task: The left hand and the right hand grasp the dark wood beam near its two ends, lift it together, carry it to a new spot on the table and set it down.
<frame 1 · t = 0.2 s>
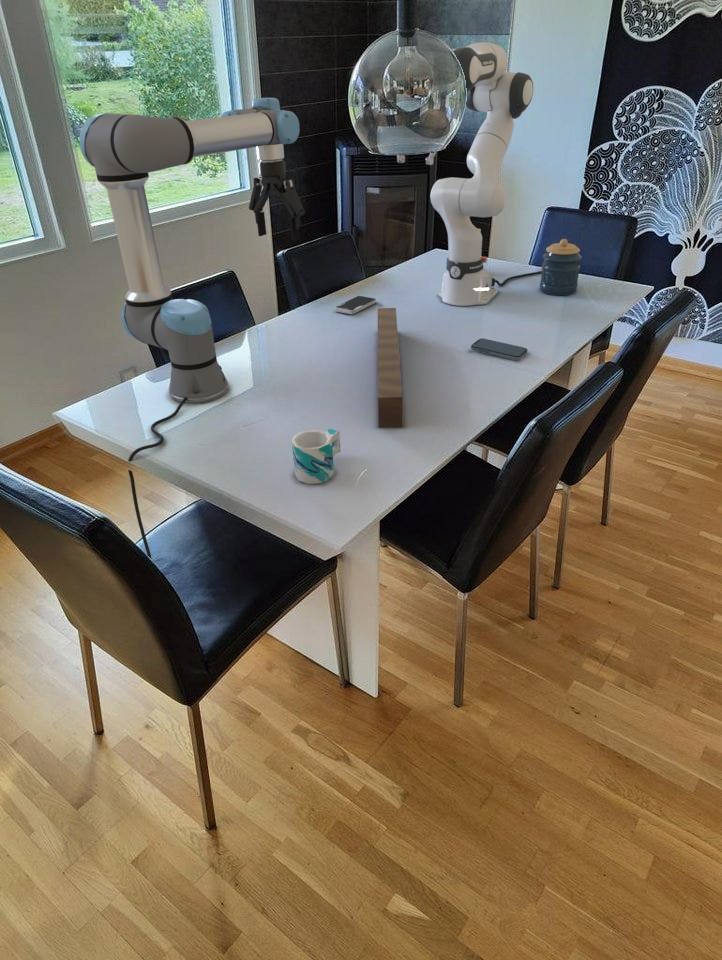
left hand: (278, 237, 202), 28 cm above the table, tool pointing down, fingers open, 13 cm apart
right hand: (415, 163, 188), 47 cm above the table, tool pointing down, fingers open, 8 cm apart
smartphone 2: (498, 352, 193), on the table
soap dispenser: (465, 272, 261), on the table
canister: (557, 290, 239), on the table
smartphone: (355, 307, 231), on the table
mug: (320, 469, 143), on the table
beam: (388, 372, 184), on the table
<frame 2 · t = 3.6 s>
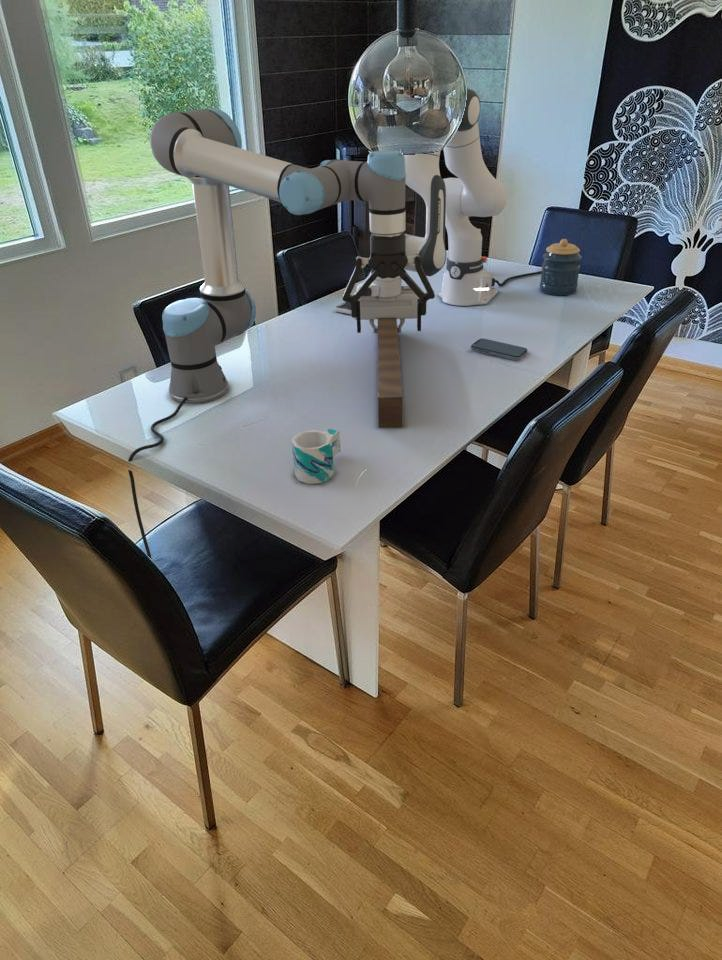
left hand: (389, 330, 152), 21 cm above the table, tool pointing down, fingers open, 13 cm apart
right hand: (387, 332, 202), 3 cm above the table, tool pointing down, fingers closed on beam, 5 cm apart
beam: (388, 372, 184), on the table, touching right hand
everything else where it was.
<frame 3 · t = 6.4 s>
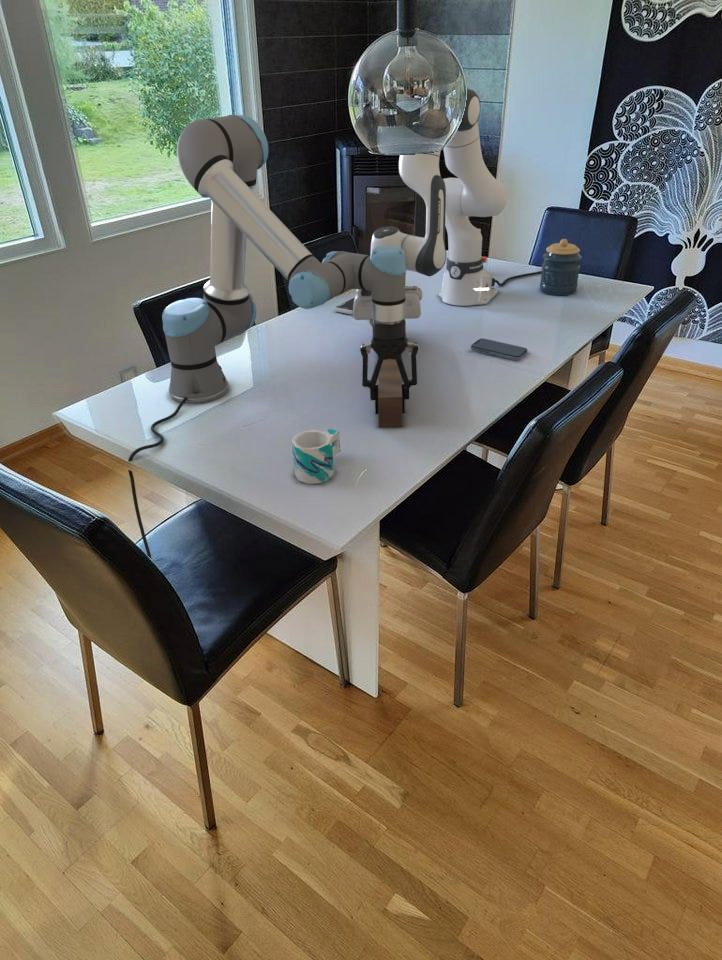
left hand: (390, 411, 163), 1 cm above the table, tool pointing down, fingers closed on beam, 6 cm apart
right hand: (387, 332, 202), 3 cm above the table, tool pointing down, fingers closed on beam, 5 cm apart
beam: (388, 372, 184), on the table, touching left hand, right hand
everything else where it was.
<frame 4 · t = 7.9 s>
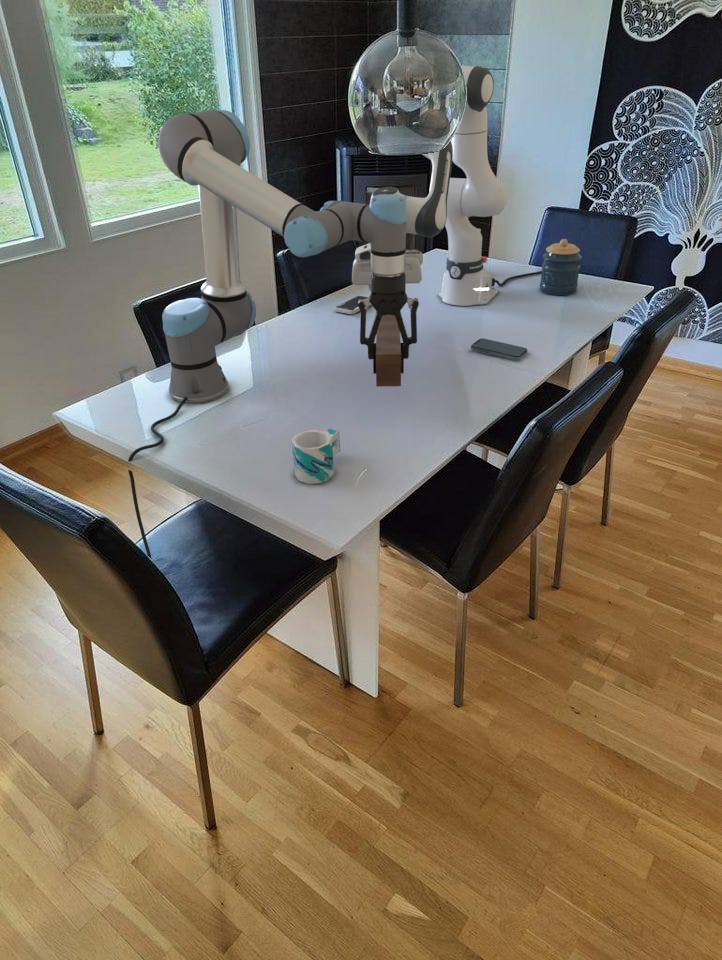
left hand: (388, 370, 158), 11 cm above the table, tool pointing down, fingers closed on beam, 6 cm apart
right hand: (387, 298, 197), 13 cm above the table, tool pointing down, fingers closed on beam, 5 cm apart
beam: (387, 336, 178), point 10 cm above the table, touching left hand, right hand
everything else where it was.
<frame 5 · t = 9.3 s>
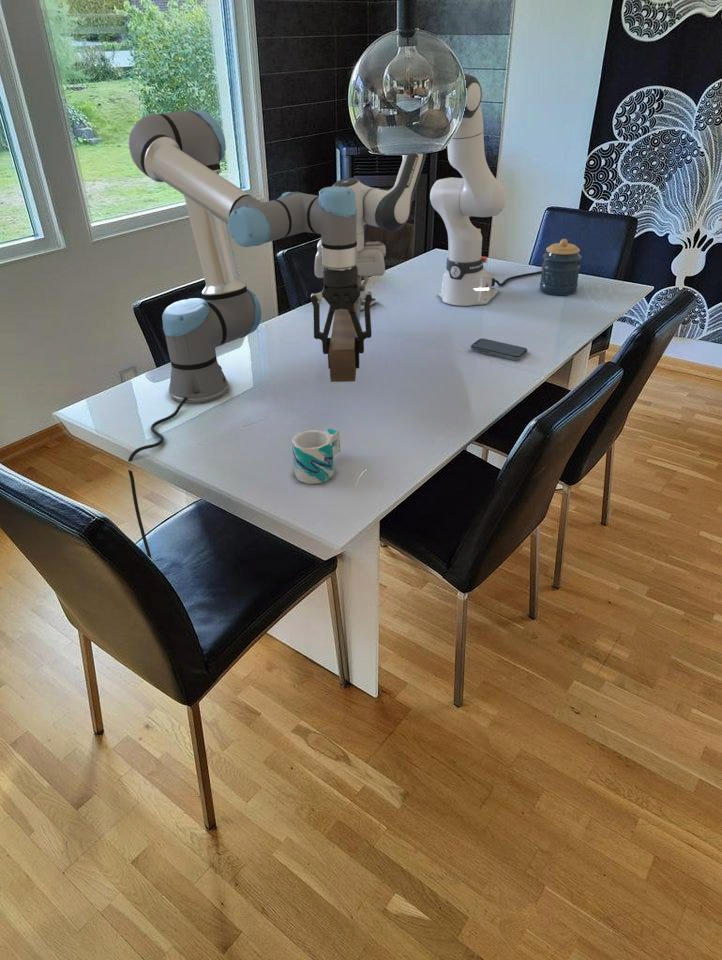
left hand: (344, 365, 156), 13 cm above the table, tool pointing down, fingers closed on beam, 6 cm apart
right hand: (350, 291, 195), 16 cm above the table, tool pointing down, fingers closed on beam, 5 cm apart
beam: (348, 330, 177), point 13 cm above the table, touching left hand, right hand
everything else where it was.
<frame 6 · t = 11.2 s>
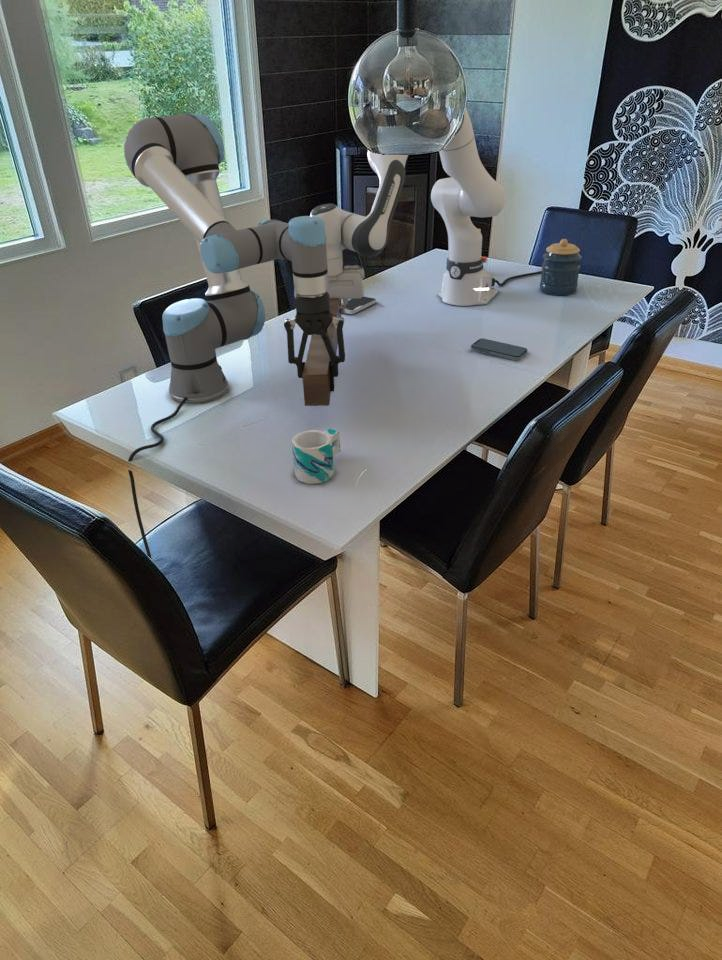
left hand: (319, 389, 159), 7 cm above the table, tool pointing down, fingers closed on beam, 6 cm apart
right hand: (330, 313, 198), 9 cm above the table, tool pointing down, fingers closed on beam, 5 cm apart
beam: (325, 353, 179), point 7 cm above the table, touching left hand, right hand
everything else where it was.
when the left hand's fingers open (2 cm above the table, at t = 12.5 s): beam drops 1 cm, on the table.
when the right hand's fingers open (4 cm above the table, at t = 12.7 s): beam stays where it is, on the table.
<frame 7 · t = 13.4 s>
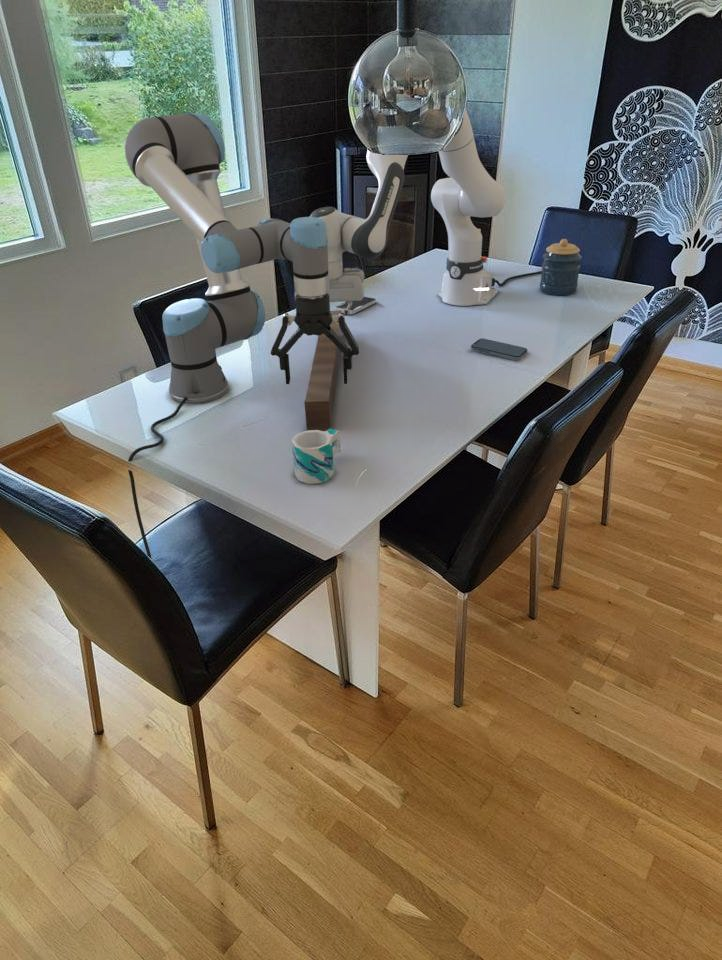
left hand: (316, 381, 159), 9 cm above the table, tool pointing down, fingers open, 13 cm apart
right hand: (331, 315, 199), 9 cm above the table, tool pointing down, fingers open, 8 cm apart
beam: (327, 376, 183), on the table
everything else where it was.
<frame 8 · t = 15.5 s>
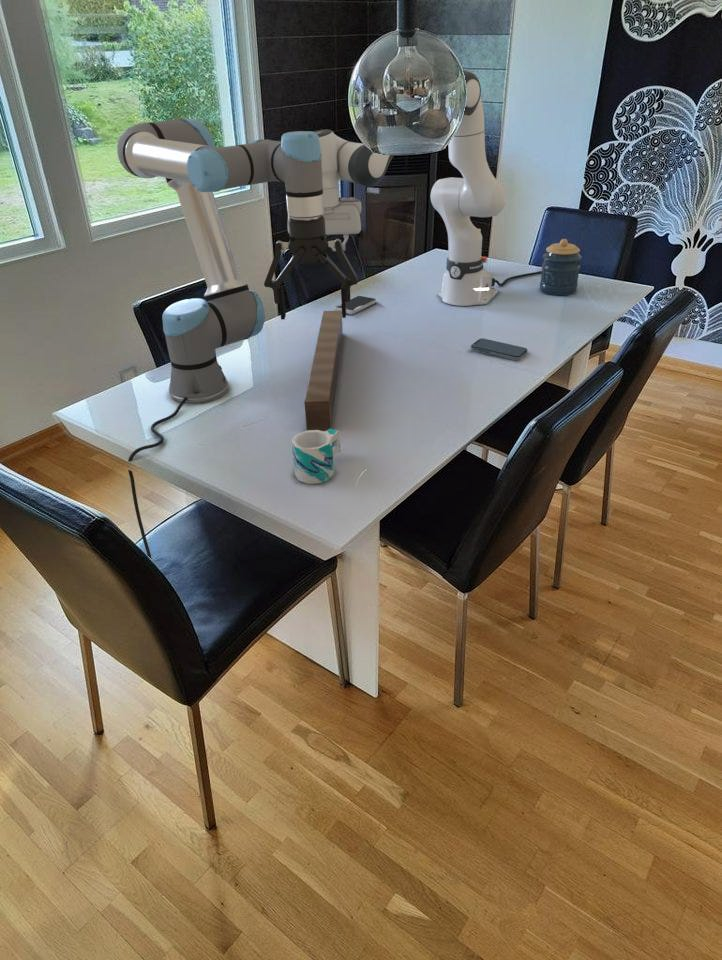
left hand: (313, 316, 149), 25 cm above the table, tool pointing down, fingers open, 13 cm apart
right hand: (326, 250, 188), 28 cm above the table, tool pointing down, fingers open, 8 cm apart
nothing on the table moved.
at the end: beam inside the target area (0.3 cm from its centre), on the table; beam tilted 0°; beam never tilted more than 2° during the clip; both hands held the beam at the same time; the left hand is holding nothing; the right hand is holding nothing; beam at rest at the end (0.0 cm/s) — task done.
